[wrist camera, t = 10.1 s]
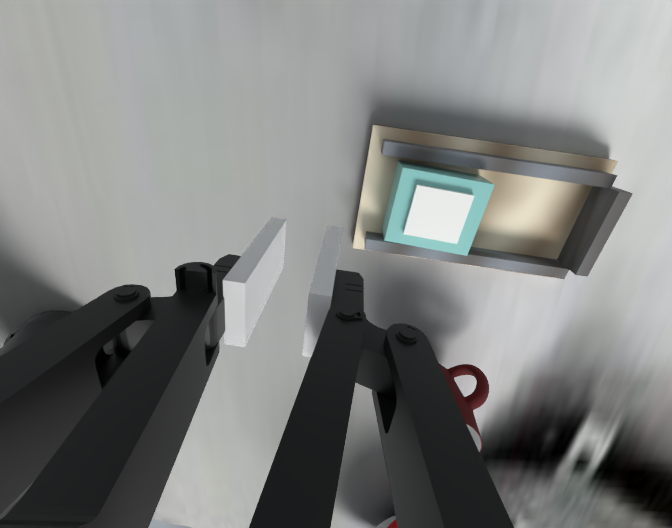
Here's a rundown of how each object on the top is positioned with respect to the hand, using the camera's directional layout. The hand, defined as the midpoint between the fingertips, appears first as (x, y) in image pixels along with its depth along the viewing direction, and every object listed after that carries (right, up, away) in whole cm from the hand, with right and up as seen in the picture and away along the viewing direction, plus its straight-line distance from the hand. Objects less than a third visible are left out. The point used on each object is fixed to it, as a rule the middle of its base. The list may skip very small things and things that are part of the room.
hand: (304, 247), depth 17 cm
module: (+10, +5, +12) cm, 16 cm away
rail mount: (+14, +4, +13) cm, 19 cm away
